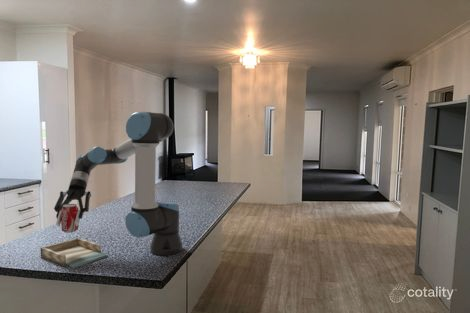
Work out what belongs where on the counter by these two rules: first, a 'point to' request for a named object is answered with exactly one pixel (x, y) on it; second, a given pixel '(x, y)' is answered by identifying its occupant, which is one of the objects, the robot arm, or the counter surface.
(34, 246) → the counter surface
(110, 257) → the counter surface
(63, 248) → the truck bed
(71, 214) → the soda can
